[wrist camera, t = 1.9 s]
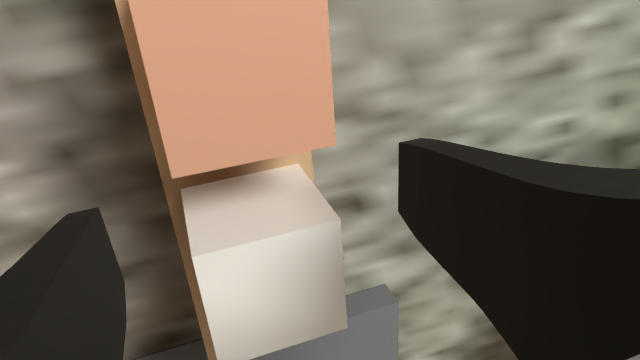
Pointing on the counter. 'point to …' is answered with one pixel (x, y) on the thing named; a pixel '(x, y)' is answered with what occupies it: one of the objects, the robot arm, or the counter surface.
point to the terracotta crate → (237, 79)
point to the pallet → (176, 184)
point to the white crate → (266, 261)
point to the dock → (331, 335)
